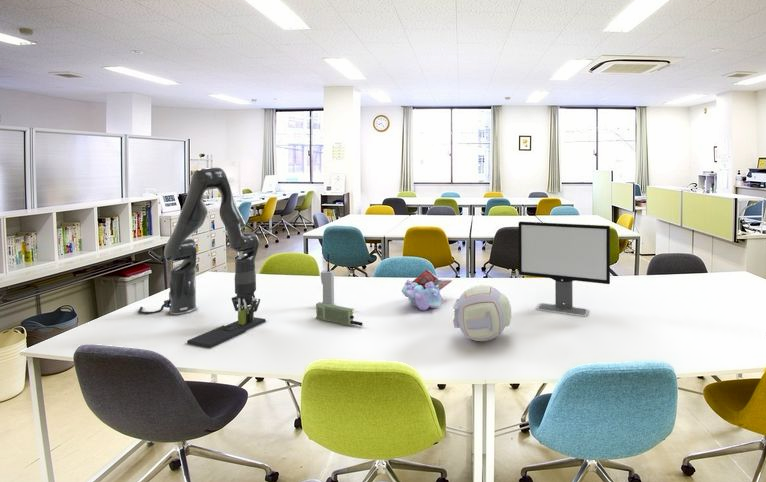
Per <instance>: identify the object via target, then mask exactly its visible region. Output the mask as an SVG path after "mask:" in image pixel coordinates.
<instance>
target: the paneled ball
mask: <svg viewBox="0 0 766 482" xmlns="http://www.w3.org/2000/svg"><path fill="white" fill-rule="evenodd" d="M452 308H453V310H454V311H453V312H454V313H453V317H454V318H453V320H452V321H453V326H454V329H460V331H461V332H462V333H463V334H464V336H465V337H467V338H468V339H470V340H472V341H476V342H487V341H488V342H489V341H491V340H493V339H495V338H497V337H498V336H500V335H501V334H502V333H503V332H504V330H505V329H506V328H508V327H509V326H510V323H511V321H512V320H511V319H512V307H511V303H510V300H509V299H508V297H507V295H506V294H504V293H503V292H501V291H500V290H499V289H497V288H495V286H494V287H493V286H491V285H486V284H478V285H474V286H472V287H469V288H468V289H466V290H464V291H463V292H462V294H461V295H460V296H459V298H456V299H455V302H454V304H453V306H452Z"/></svg>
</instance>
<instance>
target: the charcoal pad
mask: <svg viewBox="0 0 766 482" xmlns="http://www.w3.org/2000/svg"><path fill="white" fill-rule="evenodd" d="M229 327H230V326H226V325H224V324H223V325H221V326H218V327H216V328H213V329H211V330H209V331H207V332H204V333H201V334H199V335H197V336H194V337H192V338H189V339H187V340H186V341H187V344H188V345H193V346H198V347H203V348H209V349H212V348H214V347H216V346H218V345H220V344H222V343H225V342H227V341H229V340H231V339H233V338H235V337H238V336H240V335H242V334H244V333H246V331H245V329H242V328H238V329H236V330H233V331H231V332H230V331H224V329H226V328H229Z"/></svg>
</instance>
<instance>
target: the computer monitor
mask: <svg viewBox="0 0 766 482" xmlns="http://www.w3.org/2000/svg"><path fill="white" fill-rule="evenodd" d="M518 276H527V277H535V278H545V279H552V280H553V281H555V282H554V285H555V287H554V288H555V293H554V295H555V296H554V297H555V300H554V301H555V304H553V303H545V302H542V303H539V304H538V305H537V310H539V311H542V312H550V313H555V314H564V315H571V316H578V317H586V316H588V309H587V308H583V307H576V306H573V301H574V300H573V282H584V283H594V284H604V285H610V283H611V226H610V225H604V224H603V225H601V224H600V225H599V224H580V223H578V224H577V223H559V222H540V221H539V222H538V221H537V222H536V221H519V222H518Z"/></svg>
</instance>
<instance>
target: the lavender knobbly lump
mask: <svg viewBox="0 0 766 482" xmlns="http://www.w3.org/2000/svg"><path fill="white" fill-rule="evenodd" d="M453 281H454V280H451V279H439V277H438V276H436V275H435V274H434V273H433V272H432V271H430V270H429V269H426V270H424V271H423V272H422V273H421V274H420V275H418V276H417V277H416V278H414V279H413V280H411V279H407V280H406V282H405V283H404V286H403V287H402V289H401V293H402V294H403V295H404V297H406V298H408V300H409V302H410V303H412V304H413V305H414V306H415V307H417V308H418V309H419V310H421V311H427V310H428V309H429V308H432V309H435V308H438V307H439V306H440V305H441V304H442V301H443V299H442V294H441V290H443V289H444V288H445V287H447V286H448V285H450V283H452V282H453Z"/></svg>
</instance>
